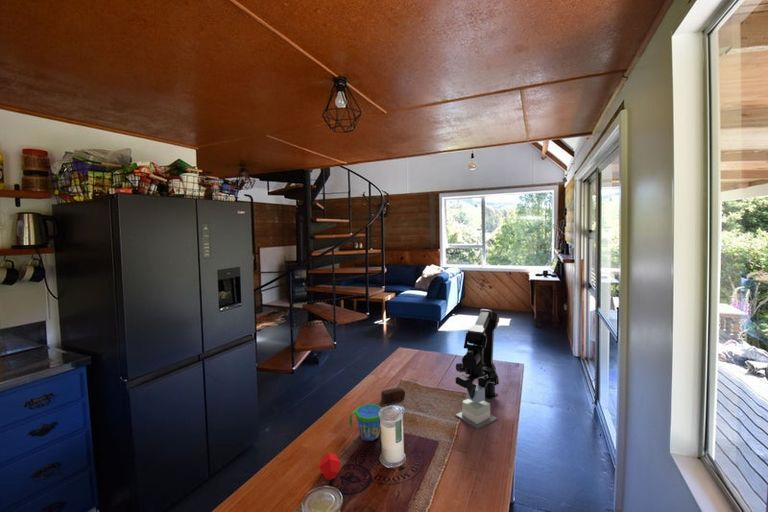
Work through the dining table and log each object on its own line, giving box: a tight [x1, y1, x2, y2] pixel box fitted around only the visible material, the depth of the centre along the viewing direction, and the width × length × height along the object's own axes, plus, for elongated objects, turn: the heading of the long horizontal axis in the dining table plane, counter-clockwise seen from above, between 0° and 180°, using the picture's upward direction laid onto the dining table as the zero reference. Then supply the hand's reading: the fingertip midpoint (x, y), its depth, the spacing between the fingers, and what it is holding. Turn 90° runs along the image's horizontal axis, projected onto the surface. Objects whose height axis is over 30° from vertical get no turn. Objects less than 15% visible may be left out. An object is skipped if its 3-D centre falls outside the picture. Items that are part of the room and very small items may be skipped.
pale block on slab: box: [454, 398, 498, 430], centre depth 137 cm, size 12×12×7 cm
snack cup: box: [349, 403, 382, 442], centre depth 126 cm, size 16×10×10 cm
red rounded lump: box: [318, 451, 341, 481], centre depth 107 cm, size 7×7×8 cm
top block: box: [466, 383, 486, 403], centre depth 137 cm, size 5×5×5 cm
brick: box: [380, 386, 406, 404], centre depth 154 cm, size 11×4×5 cm, turn 116°
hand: (476, 396), depth 137 cm, fingers closed on top block, 5 cm apart
